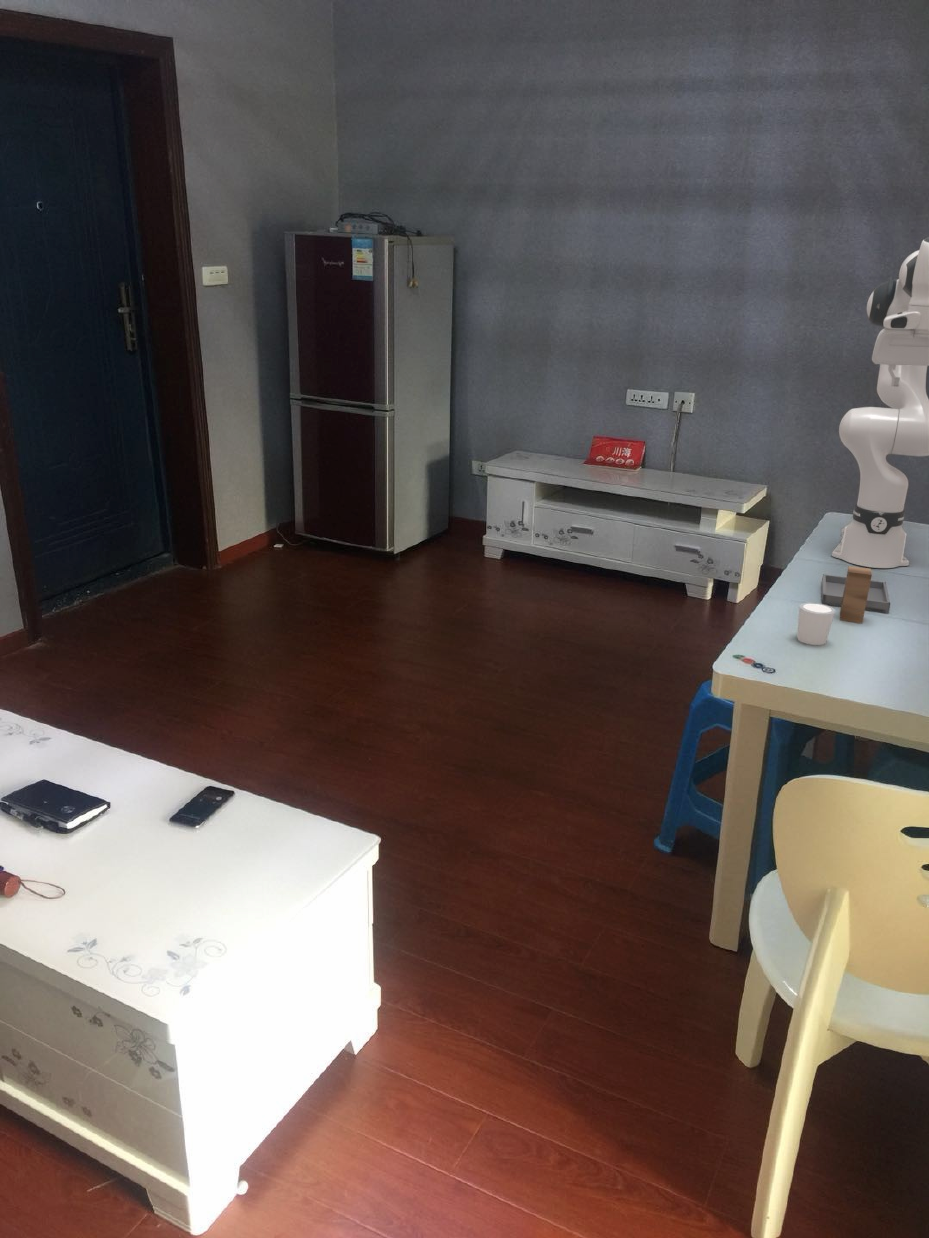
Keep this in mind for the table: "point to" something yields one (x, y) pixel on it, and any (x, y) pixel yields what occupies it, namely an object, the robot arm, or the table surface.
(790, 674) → the table surface
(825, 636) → the white cup
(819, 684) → the table surface
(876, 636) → the table surface
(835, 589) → the charcoal tray
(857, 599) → the walnut block
